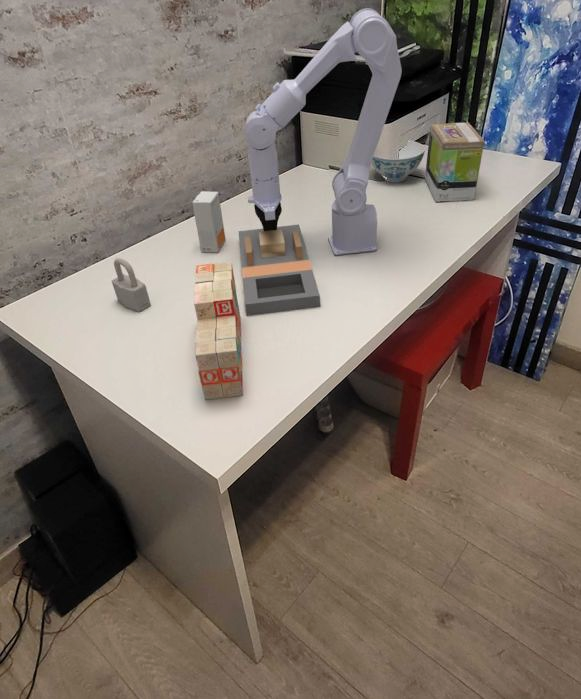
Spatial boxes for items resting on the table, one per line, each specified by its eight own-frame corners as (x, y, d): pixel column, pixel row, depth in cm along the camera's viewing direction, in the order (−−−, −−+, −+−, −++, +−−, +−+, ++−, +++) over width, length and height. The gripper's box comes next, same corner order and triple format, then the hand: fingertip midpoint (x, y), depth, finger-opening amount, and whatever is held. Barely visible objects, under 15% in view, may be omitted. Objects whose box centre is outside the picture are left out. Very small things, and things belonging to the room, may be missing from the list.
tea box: (475, 201, 130) (485, 139, 121) (434, 203, 131) (441, 142, 122) (461, 177, 142) (469, 120, 133) (423, 179, 143) (429, 122, 133)
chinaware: (410, 191, 137) (412, 162, 132) (357, 183, 144) (358, 154, 139) (430, 171, 147) (433, 143, 142) (380, 164, 153) (381, 136, 148)
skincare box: (218, 253, 118) (210, 202, 111) (201, 252, 119) (191, 202, 112) (226, 240, 123) (218, 191, 115) (209, 239, 124) (200, 190, 116)
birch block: (282, 241, 115) (281, 229, 113) (285, 255, 111) (284, 242, 109) (260, 244, 115) (258, 231, 113) (261, 258, 110) (260, 245, 109)
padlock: (115, 302, 106) (100, 258, 99) (131, 293, 108) (118, 249, 102) (137, 314, 102) (123, 269, 96) (153, 304, 104) (141, 259, 98)
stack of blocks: (244, 396, 83) (233, 334, 75) (204, 401, 82) (189, 339, 74) (240, 317, 99) (231, 259, 91) (207, 321, 99) (195, 263, 91)
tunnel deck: (299, 234, 123) (298, 212, 119) (320, 306, 100) (319, 281, 96) (239, 241, 122) (236, 219, 119) (246, 315, 99) (243, 290, 96)
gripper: (243, 165, 112) (250, 223, 121) (246, 191, 101) (254, 254, 110) (276, 161, 113) (281, 220, 121) (283, 187, 101) (288, 250, 110)
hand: (270, 236), depth 115 cm, fingers closed
